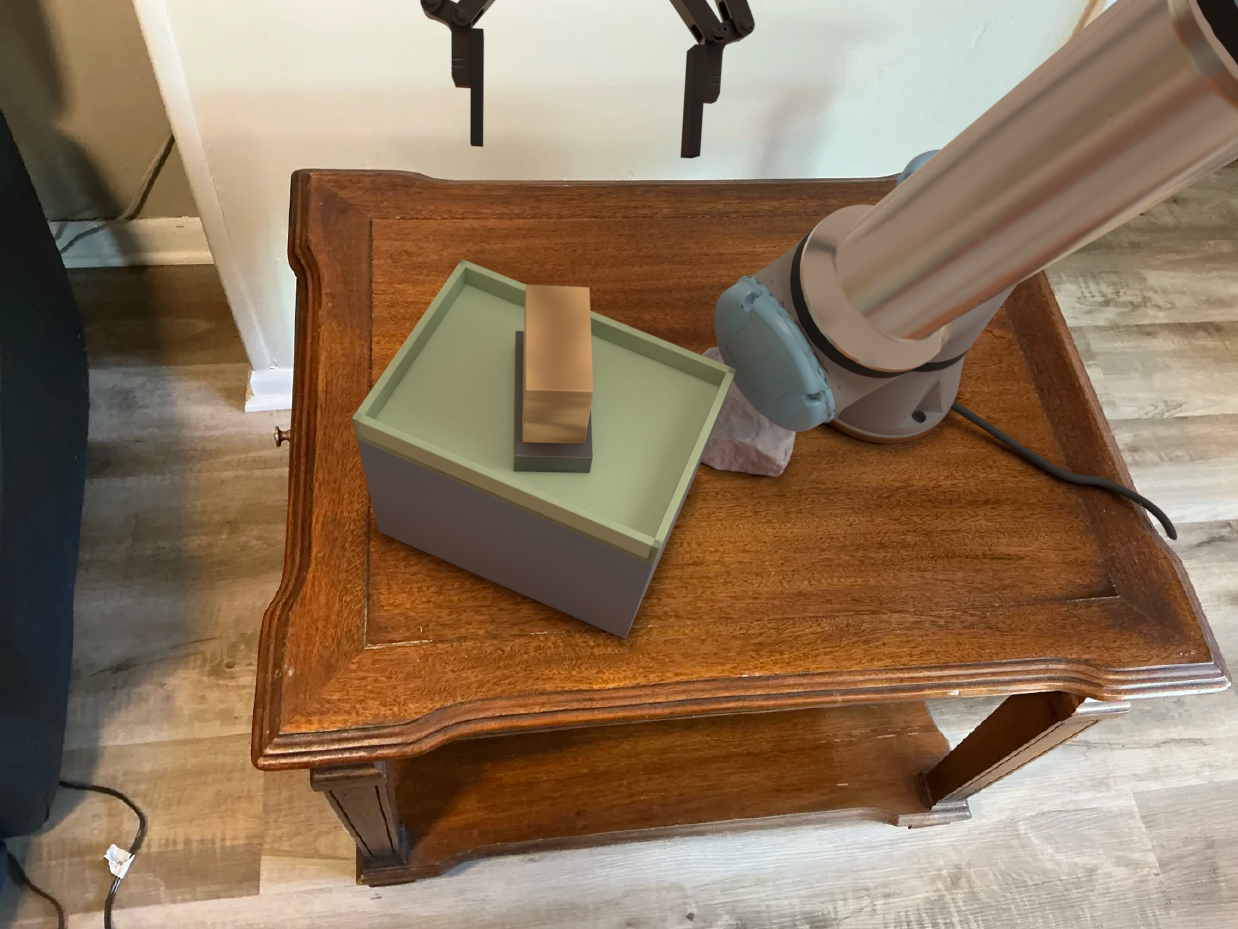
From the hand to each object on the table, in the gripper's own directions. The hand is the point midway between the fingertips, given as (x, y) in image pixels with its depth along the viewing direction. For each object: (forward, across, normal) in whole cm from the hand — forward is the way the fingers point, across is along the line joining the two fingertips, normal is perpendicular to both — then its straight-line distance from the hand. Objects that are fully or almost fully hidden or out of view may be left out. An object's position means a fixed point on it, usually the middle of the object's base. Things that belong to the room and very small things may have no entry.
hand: (585, 151), depth 59 cm
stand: (+27, +2, -11) cm, 29 cm away
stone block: (+21, -16, -17) cm, 31 cm away
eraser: (+17, +2, 0) cm, 17 cm away
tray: (+17, +2, -1) cm, 17 cm away
